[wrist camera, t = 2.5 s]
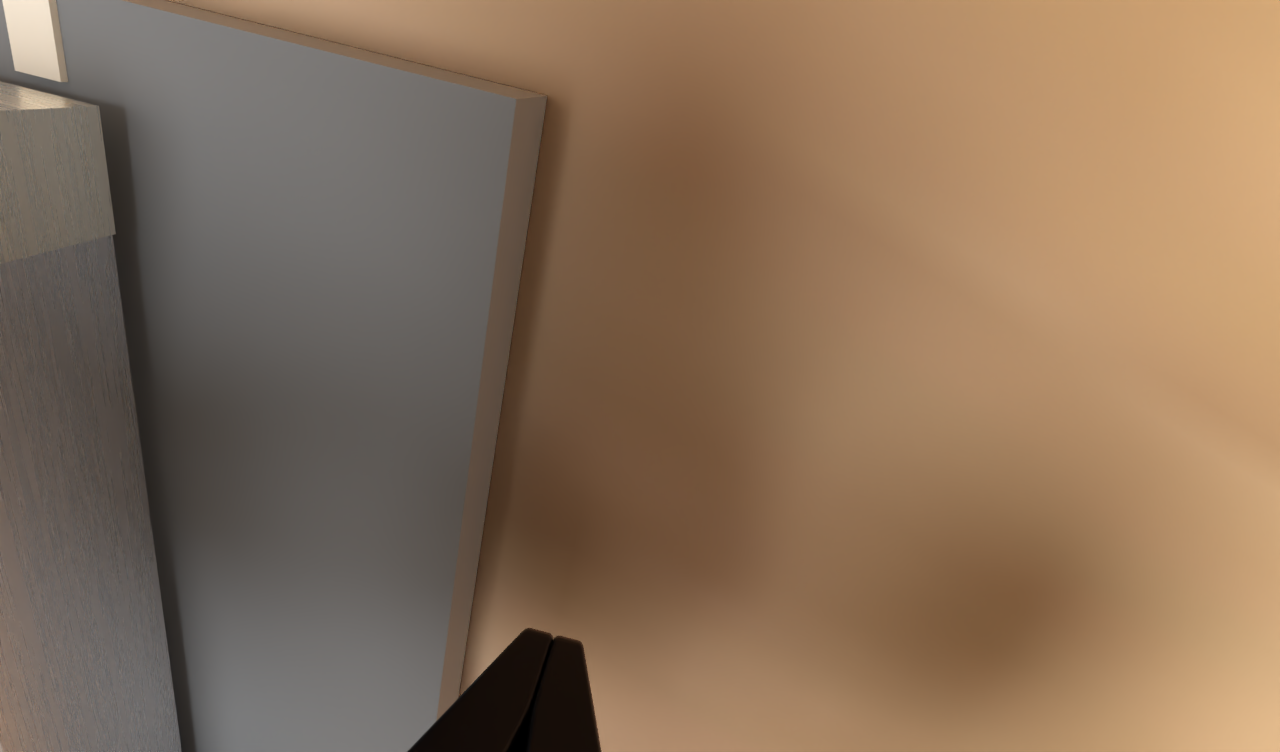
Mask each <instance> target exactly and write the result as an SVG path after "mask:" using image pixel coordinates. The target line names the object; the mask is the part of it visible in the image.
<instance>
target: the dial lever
mask: <svg viewBox="0 0 1280 752" xmlns="http://www.w3.org/2000/svg"><path fill="white" fill-rule="evenodd" d="M114 234H116V232H115V224H114V217H113V209H112V201H111V194H110V186H109V179H108V171H107V164H106V156H105V148H104V141H103V133H102V126H101V118H100V110H99V106H97V105H93V104H89V103H85V102H81V101H77V100H73V99H69V98H65V97H61V96H57V95H53V94H49V93H45V92H41V91H37V90H33V89H29V88H25V87H21V86H17V85H13V84H9V83H5V82H1V81H0V752H182V749H181V742H180V734H179V727H178V720H177V712H176V705H175V697H174V690H173V682H172V675H171V667H170V660H169V653H168V645H167V638H166V630H165V623H164V615H163V608H162V600H161V593H160V586H159V578H158V571H157V563H156V556H155V548H154V541H153V533H152V526H151V519H150V511H149V504H148V496H147V489H146V481H145V474H144V466H143V459H142V452H141V444H140V437H139V429H138V422H137V414H136V407H135V399H134V392H133V384H132V377H131V370H130V362H129V355H128V347H127V340H126V332H125V325H124V317H123V310H122V303H121V295H120V288H119V280H118V273H117V265H116V258H115V250H114V243H113V236H112V235H114Z"/></svg>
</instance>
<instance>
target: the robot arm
mask: <svg viewBox="0 0 1280 752" xmlns="http://www.w3.org/2000/svg"><path fill="white" fill-rule="evenodd" d="M407 752H601V747H600V741H599V735H598V729H597V723H596V717H595V711H594V706H593V700H592V694H591V688H590V682H589V676H588V671H587V665H586V659H585V653H584V648H583V645H582V643H581V642H580V641H578V640H574V639H571V638H567V637H563V636H556V637H555V638H554V639H553V636H552V635H551V634H550V633H547V632H544V631H540V630H536V629H532V628H527V629H525V630H524V631H522V632H521V633H520V634H519V635H518V636H517V638H516V639H515V640H514V641H513V642H512V643H511V644H510V645H509V646H508V647H507V648H506V649H505V650H504V651H503V652H502V653H501V654H500V655H499V656H498V657H497V658H496V659H495V660H494V661H493V663H492V664H491V665H490V666H489V667H488V668H487V669H486V670H485V671H484V672H483V673H482V674H481V675H480V676H479V677H478V678H477V679H476V680H475V681H474V682H473V683H472V684H471V685H470V686H469V688H468V689H467V690H466V691H465V692H464V693H463V694H462V695H461V696H460V697H459V698H458V699H457V700H456V701H455V702H454V703H453V704H452V705H451V706H450V707H449V708H448V709H447V710H446V711H445V713H444V714H443V715H442V716H441V717H440V718H439V719H438V720H437V721H436V722H435V723H434V724H433V725H432V726H431V727H430V728H429V729H428V730H427V731H426V732H425V733H424V734H423V735H422V736H421V738H420V739H419V740H418V741H417V742H416V743H415V744H414V745H413V746H412V747H411V748H410V749H409V750H408V751H407Z"/></svg>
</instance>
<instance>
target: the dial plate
mask: <svg viewBox="0 0 1280 752" xmlns="http://www.w3.org/2000/svg"><path fill="white" fill-rule="evenodd" d="M0 81H1V82H5V83H9V84H13V85H17V86H21V87H25V88H29V89H33V90H37V91H41V92H45V93H49V94H53V95H57V96H61V97H65V98H69V99H73V100H77V101H81V102H85V103H89V104H93V105H97V106H99V110H100V118H101V126H102V133H103V141H104V148H105V156H106V164H107V171H108V179H109V186H110V194H111V201H112V209H113V217H114V224H115V232H116V234H114V235H112V236H113V243H114V250H115V258H116V265H117V273H118V280H119V288H120V295H121V303H122V310H123V317H124V325H125V332H126V340H127V347H128V355H129V362H130V370H131V377H132V384H133V392H134V399H135V407H136V414H137V422H138V429H139V437H140V444H141V452H142V459H143V466H144V474H145V481H146V489H147V496H148V504H149V511H150V519H151V526H152V533H153V541H154V548H155V556H156V563H157V571H158V578H159V586H160V593H161V600H162V608H163V615H164V623H165V630H166V638H167V645H168V653H169V660H170V667H171V675H172V682H173V690H174V697H175V705H176V712H177V720H178V727H179V734H180V742H181V749H182V752H407V751H408V750H409V749H410V748H411V747H412V746H413V745H414V744H415V743H416V742H417V741H418V740H419V739H420V738H421V736H422V735H423V734H424V733H425V732H426V731H427V730H428V729H429V728H430V727H431V726H432V725H433V724H434V723H435V722H436V721H437V720H438V719H439V718H440V717H441V716H442V715H443V714H444V713H445V711H446V710H447V709H448V708H449V707H450V706H451V705H452V704H453V703H454V702H455V701H456V700H457V699H458V697H459V691H460V684H461V677H462V670H463V664H464V657H465V650H466V643H467V637H468V630H469V623H470V616H471V609H472V603H473V596H474V589H475V582H476V576H477V569H478V562H479V555H480V549H481V542H482V535H483V528H484V521H485V515H486V508H487V501H488V494H489V488H490V481H491V474H492V467H493V461H494V454H495V447H496V440H497V433H498V427H499V420H500V413H501V406H502V400H503V393H504V386H505V379H506V373H507V366H508V359H509V352H510V345H511V339H512V332H513V325H514V318H515V312H516V305H517V298H518V291H519V285H520V278H521V271H522V264H523V257H524V251H525V244H526V237H527V230H528V224H529V217H530V210H531V203H532V197H533V190H534V183H535V176H536V169H537V163H538V156H539V149H540V142H541V136H542V129H543V122H544V115H545V109H546V102H547V95H543V94H539V93H535V92H531V91H527V90H523V89H519V88H515V87H511V86H507V85H503V84H499V83H495V82H491V81H487V80H483V79H479V78H475V77H471V76H467V75H463V74H459V73H455V72H451V71H447V70H443V69H439V68H435V67H431V66H427V65H423V64H419V63H415V62H411V61H407V60H403V59H399V58H395V57H391V56H387V55H383V54H379V53H375V52H371V51H367V50H363V49H359V48H355V47H351V46H347V45H343V44H339V43H335V42H331V41H327V40H323V39H319V38H315V37H311V36H307V35H303V34H299V33H295V32H291V31H287V30H283V29H279V28H275V27H271V26H267V25H263V24H259V23H255V22H251V21H247V20H243V19H239V18H235V17H231V16H227V15H223V14H219V13H215V12H211V11H207V10H203V9H199V8H195V7H191V6H187V5H183V4H179V3H175V2H171V1H167V0H0Z"/></svg>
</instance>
